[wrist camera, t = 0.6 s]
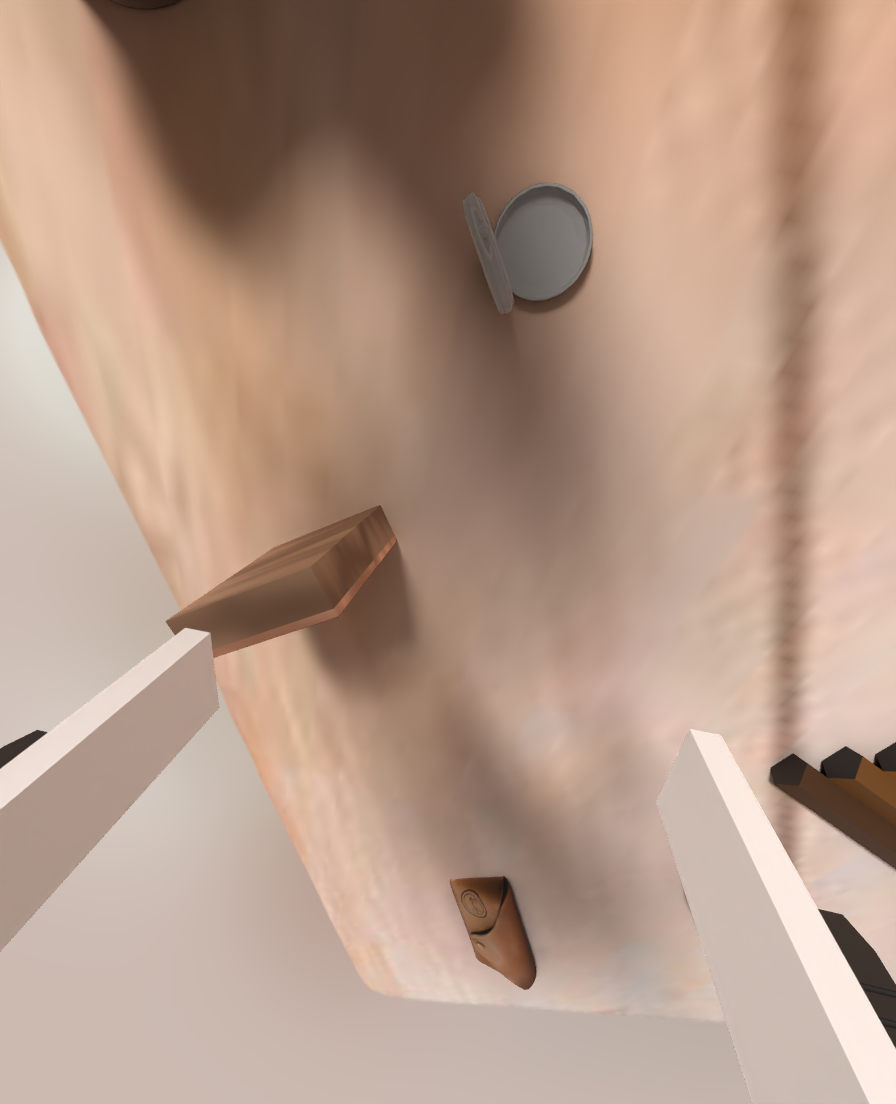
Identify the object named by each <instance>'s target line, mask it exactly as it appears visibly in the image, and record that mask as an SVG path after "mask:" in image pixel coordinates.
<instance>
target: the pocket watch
mask: <svg viewBox="0 0 896 1104" xmlns="http://www.w3.org/2000/svg"><path fill="white" fill-rule="evenodd" d="M462 206H463V211H464V215H465V218H466V221H467V225H468V228H469V231H470V234H471V237H472V240H473V243H474V246H475V249H476V251H477V254H478V257H479V260H480V263H481V266H482V269H483V272H484V274H485V277H486V280H487V283H488V286H489V289H490V292H491V294H492V297H493V300H494V302H495V305H496V307H497V309H498V311H499V313H500V314H507V313H509V312H511V311H512V307H513V305H514V298H513V294H515V295H516V296H518V297H520V298H523V299H526V300H529V301H544V300H547V299H551V298H553V297H555V296H558V295H560V294H561V293H563V292H564V291H565V290H567V289H568V288H569V287H570V286H571V285H572V284H573V283H575V282H576V281H577V279H578V277H579V276H580V274H581V272H582V271H583V269H584V268H585V266H586V264H587V262H588V259H589V256H590V252H591V247H592V240H593V230H592V223H591V218H590V215H589V212H588V210H587V208H586V205H585V204H584V202H583V201H582V200H581V198H580V197H579V196H578V195H577V194H576V193H575V192H574V191H572V190H571V189H569V188H567V187H565V186H563V185H560V184H555V183H540V184H536V185H533V186H531V187H529V188H527V189H525V190H523V191H521V192H520V193H519V194H518V195H516V196H515V197H514V198H513V199H511V201H510V202H509V203H508V204H507V205H506V207H505V209H504V210H503V212H502V214H501V215H500V217H499V219H498V222H497V225H496V228H495V231H494V232H493V230H492V227H491V224H490V221H489V218H488V216H487V213H486V210H485V207H484V205H483V202H482V200H481V199H480V198H479V196H476V195H475V194H474V192H472V193H471V194H469V195H467V196H466V198H465V199H464V200H463V201H462Z"/></svg>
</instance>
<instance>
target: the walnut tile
mask: <svg viewBox="0 0 896 1104" xmlns="http://www.w3.org/2000/svg"><path fill="white" fill-rule="evenodd" d="M396 541H397V539H396V537H395V535H394V533H393V531H392V529H391V527H390V525H389V523H388V521H387V519H386V516H385V514H384V512H383V510H382V508H381V506H380V505H379V506H376V507H374V508H372V509H369V510H367V511H364V512H362V513H359V514H357V515H354V516H352V517H349V518H347V519H344V520H342V521H339V522H337V523H334V524H332V525H329V526H327V527H324V528H322V529H319V530H317V531H314V532H312V533H309V534H307V535H304V536H302V537H299V538H297V539H295V540H292V541H290V542H287V543H285V544H282V545H280V546H277V547H275V548H273V549H271V550H270V551H268V552H267V553H265V554H264V555H262V556H261V557H260V558H258V559H257V560H255V561H254V562H252V563H251V564H249V565H248V566H246V567H245V568H243V569H242V570H240V571H239V572H237V573H236V574H234V575H233V576H232V577H230V578H229V579H227V580H226V581H224V582H223V583H221V584H220V585H218V586H217V587H215V588H214V589H212V590H211V591H209V592H208V593H206V594H205V595H204V596H202V597H201V598H199V599H198V600H196V601H195V602H193V603H192V604H190V605H189V606H187V607H186V608H184V609H183V610H181V611H180V612H178V613H177V614H175V615H174V616H173V617H171V618H170V619H168V620H167V621H166V623H167V624H168V626H169V627H170V629H171V630H172V631H173V633H174V634H175V635H176V634H178V633H179V632H180V631H182V630H183V629H184V628H189V629H194V630H199V631H204V632H209V633H210V634H211V642H212V651H213V658H215V657H218V656H221V655H224V654H227V653H230V652H233V651H236V650H239V649H242V648H245V647H248V646H251V645H254V644H257V643H260V642H263V641H266V640H269V639H272V638H275V637H278V636H281V635H284V634H287V633H290V632H294V631H297V630H300V629H303V628H306V627H309V626H312V625H315V624H318V623H321V622H324V621H327V620H330V619H333V618H336V617H339V615H340V614H341V613H342V611H343V610H344V609H345V607H346V606H347V605H348V604H349V602H350V601H351V600H352V598H353V597H354V596H355V594H356V593H357V592H358V591H359V589H360V588H361V587H362V585H363V584H364V583H365V582H366V580H367V579H368V578H369V576H370V575H371V574H372V572H373V571H374V570H375V569H376V567H377V566H378V565H379V563H380V562H381V561H382V559H383V558H384V557H385V556H386V554H387V553H388V552H389V550H390V549H391V548H392V546H393V545H394V544H395V543H396Z"/></svg>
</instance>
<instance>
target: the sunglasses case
mask: <svg viewBox="0 0 896 1104" xmlns="http://www.w3.org/2000/svg"><path fill="white" fill-rule="evenodd" d="M450 884H451V888H452V891H453V894H454V896H455V899H456V902H457V905H458V907H459V910H460V912H461V915H462V918H463V920H464V923H465V926H466V928H467V931H468V934H469V937H470V940H471V942H472V945H473V948H474V952H475V955H476V958H477V959H478V960H479V961H480V962H482V963H484V964H486V965H488V966H489V967H491V968H493V969H495V970H496V971H498V972H500V973H501V974H503V975H504V976H505V977H506V978H507V979H509V980H510V981H511V982H513V983H514V984H515V985H517V986H519V987H520V988H522V989H524V990H526V989H529V988H530V987H531V986H532V985H533V983H534V981H535V978H536V966H535V962H534V959H533V956H532V953H531V951H530V948H529V944H528V941H527V939H526V936H525V933H524V929H523V926H522V923H521V920H520V917H519V914H518V911H517V907H516V904H515V901H514V896H513V893H512V891H511V887H510V885H509V883H508V882H507V880H506V879H505V877H489V878H466V879H457V880H452V879H450Z"/></svg>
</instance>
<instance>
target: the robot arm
mask: <svg viewBox="0 0 896 1104" xmlns="http://www.w3.org/2000/svg"><path fill="white" fill-rule="evenodd" d="M111 1H114V2H116V3H118V4H121V5H124V6H128V7H133V8H141V9H151V8H158V7H162V6H166V5H169V4H171V3H174V2H176V1H177V0H111ZM218 708H219V703H218V695H217V685H216V677H215V668H214V660H213V651H212V642H211V634H210V633H209V632H204V631H199V630H194V629H189V628H184V629H183V630H182V631H180V632H179V633H178V634H176V635H175V636H174V637H173V638H171V639H170V640H169V641H167V642H166V643H165V644H163V645H162V646H161V647H160V648H158V649H157V650H156V651H154V652H153V653H152V654H150V655H149V656H148V657H146V658H145V659H144V660H142V661H141V662H140V663H138V664H137V665H136V666H135V667H133V668H132V669H131V670H129V671H128V672H127V673H125V674H124V675H123V676H121V677H120V678H119V679H117V680H116V681H115V682H114V683H112V684H111V685H110V686H108V687H107V688H106V689H104V690H103V691H102V692H100V693H99V694H98V695H97V696H95V697H94V698H93V699H91V700H90V701H89V702H87V703H86V704H85V705H83V706H82V707H81V708H79V709H78V710H77V711H76V712H74V713H73V714H72V715H70V716H69V717H68V718H66V719H65V720H64V721H63V722H61V723H60V724H58V725H57V726H56V727H55V728H53V729H52V730H51V731H49V732H44V731H40V730H36V731H34V732H32V733H30V734H28V735H26V736H24V737H22V738H20V739H18V740H16V741H14V742H12V743H10V744H8V745H6V746H4V747H2V748H1V749H0V951H1V950H2V949H3V948H4V947H5V946H6V945H7V944H8V942H9V941H10V940H11V939H12V938H13V937H14V936H15V934H17V932H18V931H19V930H20V929H21V928H22V927H23V926H24V925H25V923H26V922H27V921H28V920H29V919H30V918H31V917H32V916H33V915H34V913H35V912H36V911H37V910H38V909H39V908H40V907H41V906H42V904H43V903H44V902H45V901H46V900H47V899H48V898H49V897H50V896H51V894H52V893H53V892H54V891H55V890H56V889H57V888H58V887H59V886H60V884H61V883H62V882H63V881H64V880H65V879H66V878H67V877H68V875H69V874H70V873H71V872H72V871H73V870H74V869H75V867H77V865H78V864H79V863H80V862H81V861H82V860H83V859H84V858H85V857H86V855H87V854H88V853H89V852H90V851H91V850H92V849H93V848H94V847H95V845H96V844H97V843H98V842H99V841H100V840H101V839H102V838H103V837H104V835H105V834H106V833H107V832H108V831H109V830H110V829H111V828H112V826H113V825H114V824H115V823H116V822H117V821H118V820H119V819H120V818H121V816H122V815H123V814H124V813H125V812H126V811H127V810H128V809H129V807H130V806H131V805H132V804H133V803H134V802H135V801H136V800H137V799H138V798H139V796H140V795H141V794H142V793H143V792H144V791H145V790H146V789H147V787H148V786H149V785H150V784H151V783H152V782H153V781H154V780H155V779H156V777H157V776H158V775H159V774H160V773H161V772H162V771H163V770H164V769H165V767H166V766H167V765H168V764H169V763H170V762H171V761H172V760H173V758H174V757H175V756H176V755H177V754H178V753H179V752H180V751H181V750H182V748H183V747H184V746H185V745H186V744H187V743H188V742H189V740H191V738H192V737H193V736H194V735H195V734H196V733H197V732H198V731H199V729H200V728H201V727H202V726H203V725H204V724H205V723H206V721H208V719H209V718H210V717H211V716H212V715H213V714H214V713H215V712H216V711H217V709H218ZM656 804H657V807H658V810H659V814H660V817H661V820H662V823H663V826H664V829H665V832H666V835H667V839H668V842H669V845H670V848H671V851H672V854H673V857H674V861H675V864H676V867H677V870H678V873H679V876H680V879H681V882H682V886H683V889H684V892H685V895H686V898H687V901H688V904H689V908H690V911H691V914H692V917H693V920H694V923H695V926H696V929H697V933H698V936H699V939H700V942H701V945H702V948H703V951H704V955H705V958H706V961H707V964H708V967H709V970H710V973H711V976H712V980H713V983H714V986H715V989H716V992H717V995H718V998H719V1001H720V1005H721V1008H722V1011H723V1014H724V1017H725V1020H726V1023H727V1026H728V1030H729V1033H730V1035H731V1039H732V1042H733V1045H734V1048H735V1052H736V1055H737V1058H738V1061H739V1064H740V1067H741V1070H742V1073H743V1077H744V1080H745V1083H746V1086H747V1089H748V1092H749V1095H750V1099H751V1102H752V1104H896V984H895V983H894V981H893V979H892V978H891V976H890V975H889V973H888V971H887V970H886V968H885V966H884V965H883V963H882V962H881V960H880V958H879V957H878V955H877V953H876V952H875V951H874V949H873V948H872V947H871V946H870V945H869V944H868V943H867V942H866V940H865V939H864V938H863V937H862V936H861V935H860V934H859V933H858V932H857V930H856V929H855V928H854V927H853V926H852V925H851V924H850V923H849V921H848V920H847V919H846V918H845V917H844V916H843V915H842V914H838V913H833V912H829V911H825V910H820V909H817V907H816V905H815V903H814V901H813V900H812V898H811V896H810V894H809V892H808V891H807V889H806V887H805V885H804V883H803V882H802V880H801V878H800V876H799V874H798V873H797V871H796V869H795V867H794V865H793V864H792V862H791V860H790V858H789V857H788V855H787V853H786V851H785V849H784V848H783V846H782V844H781V842H780V840H779V839H778V837H777V835H776V833H775V831H774V830H773V828H772V826H771V824H770V822H769V821H768V819H767V817H766V815H765V813H764V812H763V810H762V808H761V806H760V805H759V803H758V801H757V799H756V797H755V796H754V794H753V792H752V790H751V788H750V787H749V785H748V783H747V781H746V779H745V778H744V776H743V774H742V772H741V770H740V769H739V767H738V765H737V763H736V762H735V760H734V758H733V756H732V754H731V753H730V751H729V749H728V747H727V745H726V744H725V742H724V740H723V738H722V736H721V735H718V734H713V733H708V732H703V731H698V730H693V729H689V731H688V733H687V735H686V738H685V740H684V742H683V744H682V746H681V749H680V751H679V753H678V755H677V757H676V759H675V762H674V764H673V766H672V768H671V770H670V773H669V775H668V777H667V779H666V781H665V784H664V786H663V788H662V790H661V792H660V795H659V797H658V799H657V801H656Z"/></svg>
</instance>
